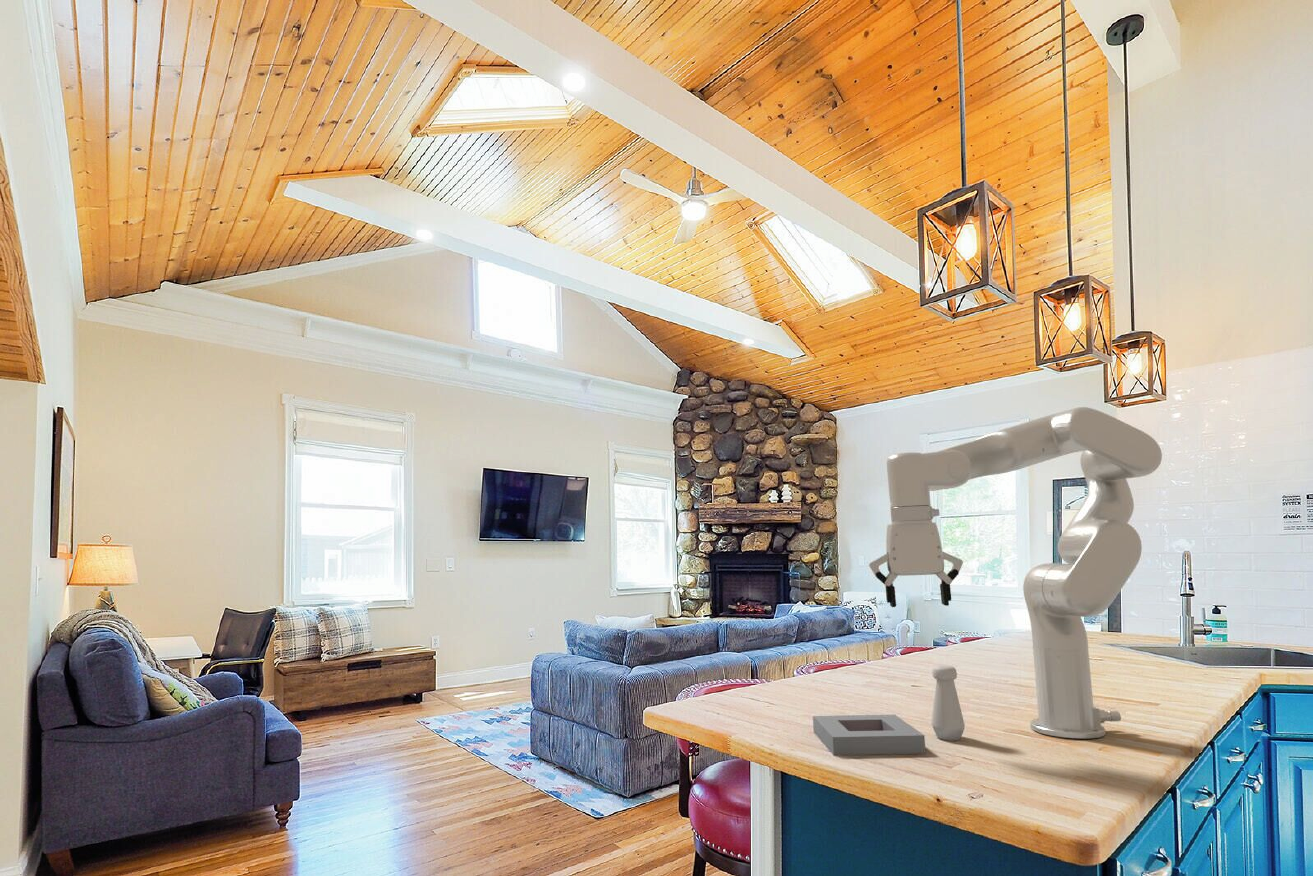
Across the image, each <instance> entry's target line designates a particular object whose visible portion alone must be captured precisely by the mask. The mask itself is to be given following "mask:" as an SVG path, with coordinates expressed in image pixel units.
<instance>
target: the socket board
mask: <svg viewBox="0 0 1313 876" xmlns="http://www.w3.org/2000/svg"><path fill="white" fill-rule="evenodd" d="M812 721H813V723H812V724H813V725H812V727H813V729H812V730H813V733H814V734H815V735H816V737H817V738H818V739H819V740H820V742H821V743H822V744H823V745H824V746H825V747H826V748H827V749H828V750H829V752H830V753H831V754H832V755H833V756H855V755H856V756H857V755H858V756H860V755H904V754H905V755H908V754H909V755H912V754H913V755H914V754H915V755H917V754H919V755H920V754H926V739H925V737H926V736H925V735H924V734H923V733H922V732H921V731H919V730H918V729H916V728H914V727H913V726H912V725H911V724H909V723H908V722H906V721H905V720H903V719H902V718H901V717H899V716H898V715H896V714H859V715H858V714H855V715H854V714H853V715H847V714H846V715H812Z"/></svg>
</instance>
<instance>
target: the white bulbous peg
mask: <svg viewBox="0 0 1313 876" xmlns="http://www.w3.org/2000/svg"><path fill="white" fill-rule="evenodd" d="M931 673H932V677H933V678H934V679H935V680H936V684H935V690H934V691H935V693H934V701H933V708H932V715H931V723H930V725H931V727H932V729H933V731H934V733H935V736H936V738H937V739H939V740H942V741H943V740H944V741H954V742H955V741H959V740H961V739H962V736H963V733H964V732H965V726H966V725H965V721H964V717H963V713H962V708H961V705H960V701H959V696H958V691H957V689H956V688H957V687H956V684H955V680H956V679H957V678H958V672H957V669H956V668H955V667H954V666H951V665H948V664H946V665H945V664H943V665H941V664H939V665H935V666H934V667H933V668H932V672H931Z"/></svg>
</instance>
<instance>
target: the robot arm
mask: <svg viewBox="0 0 1313 876" xmlns="http://www.w3.org/2000/svg"><path fill="white" fill-rule="evenodd" d="M1078 452H1081V454H1080V461H1079V462H1080V467H1081V470H1082V473H1083V476H1084V480H1086V481H1085V482H1086V486H1087V493H1086V497H1085V498H1084V501H1083V503H1082V504H1081V507H1079V509H1078V510H1077V512H1076V513H1075V515H1073V518H1072V519H1071V520H1070V522H1069V523H1068V525H1067V526H1066V528H1065V529H1064V531H1063V532H1062V534H1061V536H1060V537H1059V539H1058V543H1057V551H1058V555H1059V556H1060V558H1061V559H1062V560H1063V562H1065V563H1056V562H1055V563H1054V562H1051V563H1050V562H1049V563H1043V564H1042V563H1041V564H1038V565H1036V566H1034V567H1033V568H1032V569H1030V570H1029V571H1028V572H1027V574H1026V576H1025V577H1024V580H1023V585H1022V586H1023V587H1022V590H1023V596H1024V602H1025V604H1026V608H1027V609H1026V610H1027V613H1028V616H1029V621H1030V627H1031V628H1030V629H1031V636H1032V637H1031V638H1032V639H1031V640H1032V651H1033V652H1032V653H1033V654H1032V655H1033V664H1034V666H1033V667H1034V676H1035V688H1036V689H1035V690H1036V703H1037V712H1038V715H1037V716H1038V717H1037V718H1034V719H1032V720H1030V723H1029V724H1030V728H1031V729H1032V730H1033V731H1034V732H1037V733H1039V734H1043V735H1046V736H1051V737H1057V738H1066V739H1083V740H1084V739H1097V738H1102V737H1103V736H1105V735H1106V728H1105V726H1103V725H1102V724H1104V723H1105V722H1109V723H1110V722H1121V719H1122V716H1121V713H1120V711H1118V710H1107V711H1105V709H1100V708H1098V707H1096V706H1094V698H1093V697H1094V696H1093V688H1092V687H1093V686H1092V677H1091V666H1090V665H1091V664H1090V654H1089V640H1088V634H1087V631H1086V627H1085V624H1084V622H1083V619H1082V618H1091V617H1095V616H1099V615H1101V614H1102V613H1104V612H1105V611H1107V609H1108V608H1110V606H1111V605H1112V603H1113V602H1114V601H1115V599H1116V598H1117V596H1118V594H1119V593H1120V592H1121V590H1122V589H1123V587H1124V586H1125V585H1126V583H1127V582H1128V580H1129V579H1130V577H1131V575H1132V573H1133V572H1134V571H1135V569H1136V567H1137V566H1138V564H1139V561H1140V559H1141V555H1142V540H1141V537H1140V535H1139V532H1137V530H1136V529H1135V527H1133V526H1132V525H1130V523H1129V521H1130V519H1131V517H1132V516H1133V514H1134V513H1133V512H1134V509H1135V504H1134V498H1133V493H1132V492H1131V488H1130V485H1129V481H1128V479H1133V478H1141V477H1145V476H1148V475H1150V474H1152V473H1154V472H1155V471H1156V470H1157V469H1159V467H1160V465H1161V463H1162V459H1163V454H1162V449H1161V447H1160V445H1159V444H1158V442H1157V441H1156V439H1154V438H1153V437H1152V436H1151V435H1149V434H1148V433H1146V432H1144V431H1142V430H1140V429H1138V428H1136V427H1135V426H1132V425H1130V424H1128V423H1125V422H1124V421H1122V420H1120V419H1118V418H1116V417H1114V416H1112V415H1109V414H1107V413H1105V412H1103V411H1100V410H1097V409H1095V408H1092V407H1087V406H1085V407H1084V406H1080V407H1075V408H1071V409H1067V410H1064V411H1061V412H1057V413H1052V414H1050V415H1046V416H1043V417H1040V418H1035V419H1033V420H1030V421H1026V422H1024V423H1020V424H1017V425H1013V426H1010V427H1007V428H1003V429H1000V430H997V431H993V432H992V433H989V434H985V435H983V436H981V437H979V438H976V439H973V440H970V441H967V442H964V443H962V444H958V445H955V446H951V447H948V448H945V449H941V450H938V451H934V452H933V451H932V452H926V453H925V452H924V453H921V452H901V453H894V454H891V455H889V456H888V458H887V459H886V472H887V482H888V496H889V505H890V506H889V507H890V519H891V524H887V527H886V539H885V543H886V544H885V545H886V546H885V547H886V553H885V554H883V555H881V556H880V557H878V558H876V559H875V560H872V562H869V564H868V566H869V568H870V570H871V572H873V574H874V577H875V578H877V580H879V581H880V582H881V583H882V584H883V585H885V596H886V603H887V604H888V603H889V605H890V607H891V608H896V607H897V602H896V601H897V599H896V590H895V589H896V587H895V586H894V584H893V583H894V582H895V581H896V579H897V578H898V576H900V577H903V576H928V575H929V576H931V575H935V576H937V578H938V579H940V581H941V583H940V584H939V588H940V591H939V592H940V599H941V605H943V606H947V607H949V605H950V603H949V602H951V601H952V591H951V584H952V582H953V581H954V580H955V579H956V578H957V576H959V573H960V570H961V568H962V567H963V564H964V561H963V560H962V559H961V558H958V557H956V556H954V555H952V554H950V553H947V552H944V551H943V547H942V542H941V536H940V533H939V528H938V525H937V522H936V521H935V522H933V520H934V518H935V517H939V516H940V510H939V508H938V509H937V508H933V507H932V504H931V495H930V492H934V491H935V492H936V491H941V490H949V489H956V488H958V487H961V486H963V485H966V483H967V482H969V480H973V479H977V478H982V477H987V476H994V475H1000V474H1001V475H1002V474H1006V473H1010V472H1014V471H1019V470H1021V469H1025V468H1028V467H1030V466H1034V465H1037V464H1040V463H1043V462H1046V461H1049V460H1053V459H1057V458H1060V457H1062V456H1066V455H1069V454H1074V453H1078ZM945 561H947V562H949V563H952V568H951V569H950V571H948V573H946V572H945V571H944V570H945ZM885 563H886V566H887V571H888V572H889V573H888V574H887V576H886V575H884V574H883V573H882V572H881V570H880V568H879V567H880V566H881V565H884V564H885Z"/></svg>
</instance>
